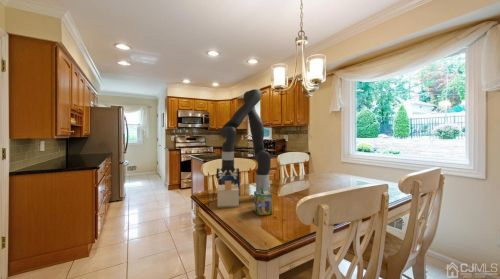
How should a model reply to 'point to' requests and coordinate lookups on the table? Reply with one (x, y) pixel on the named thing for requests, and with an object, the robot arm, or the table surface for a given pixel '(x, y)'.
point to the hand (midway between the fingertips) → (227, 184)
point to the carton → (228, 199)
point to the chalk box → (262, 202)
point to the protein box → (230, 178)
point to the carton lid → (228, 187)
